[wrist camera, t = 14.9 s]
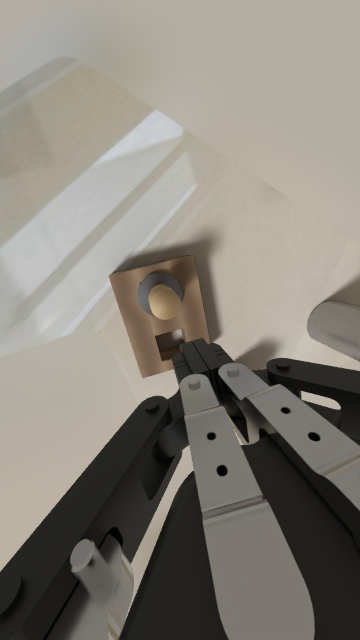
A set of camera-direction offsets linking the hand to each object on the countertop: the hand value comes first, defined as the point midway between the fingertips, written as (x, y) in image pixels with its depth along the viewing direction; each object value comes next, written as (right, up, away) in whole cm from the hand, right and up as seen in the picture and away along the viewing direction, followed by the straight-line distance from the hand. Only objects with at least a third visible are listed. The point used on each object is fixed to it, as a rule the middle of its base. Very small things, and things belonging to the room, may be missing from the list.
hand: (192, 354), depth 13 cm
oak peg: (-5, +7, +23) cm, 25 cm away
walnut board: (-4, +3, +25) cm, 25 cm away
